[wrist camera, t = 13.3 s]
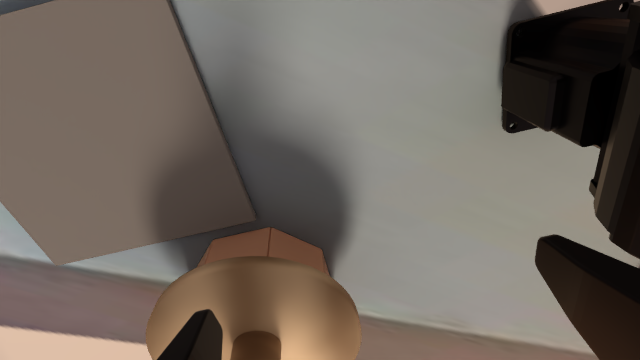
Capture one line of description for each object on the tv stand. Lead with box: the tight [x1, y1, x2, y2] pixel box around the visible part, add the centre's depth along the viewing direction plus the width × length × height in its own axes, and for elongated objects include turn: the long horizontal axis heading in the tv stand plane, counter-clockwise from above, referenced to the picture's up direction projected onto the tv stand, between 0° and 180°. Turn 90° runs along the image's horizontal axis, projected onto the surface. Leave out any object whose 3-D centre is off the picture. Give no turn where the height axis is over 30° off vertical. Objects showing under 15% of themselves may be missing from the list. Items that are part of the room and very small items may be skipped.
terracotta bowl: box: [196, 227, 330, 276], centre depth 24 cm, size 11×11×4 cm
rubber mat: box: [0, 0, 256, 266], centre depth 20 cm, size 15×15×1 cm
